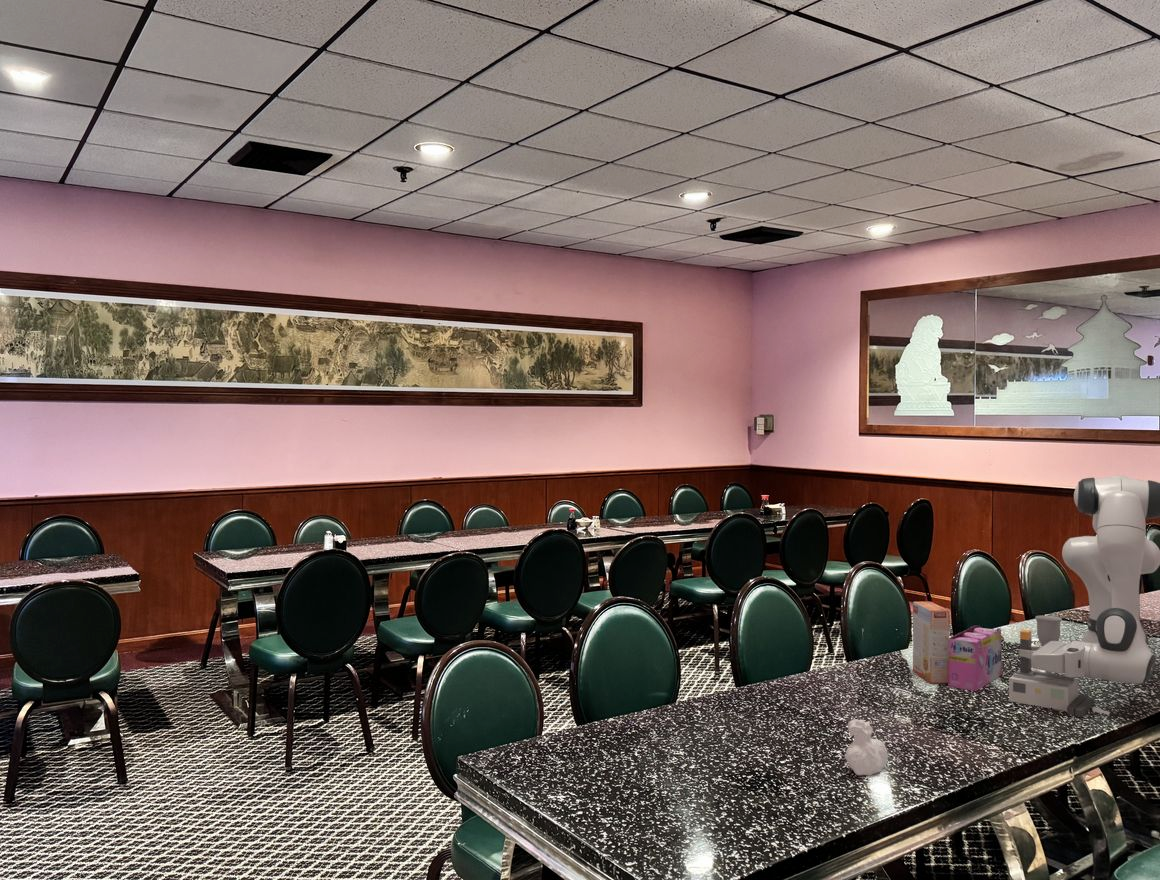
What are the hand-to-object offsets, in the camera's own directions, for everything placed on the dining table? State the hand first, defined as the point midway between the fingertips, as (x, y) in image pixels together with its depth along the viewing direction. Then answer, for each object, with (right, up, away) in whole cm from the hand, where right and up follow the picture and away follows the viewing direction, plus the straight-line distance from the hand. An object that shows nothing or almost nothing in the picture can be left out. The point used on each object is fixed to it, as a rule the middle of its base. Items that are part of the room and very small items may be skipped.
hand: (1021, 650), depth 243 cm
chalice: (+15, -13, +16) cm, 25 cm away
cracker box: (-16, -13, +21) cm, 29 cm away
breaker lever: (+1, -6, -1) cm, 6 cm away
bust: (-58, -13, -52) cm, 79 cm away
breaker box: (+4, -13, -3) cm, 14 cm away
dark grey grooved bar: (+11, -13, -9) cm, 19 cm away
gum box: (-5, -13, +17) cm, 22 cm away
